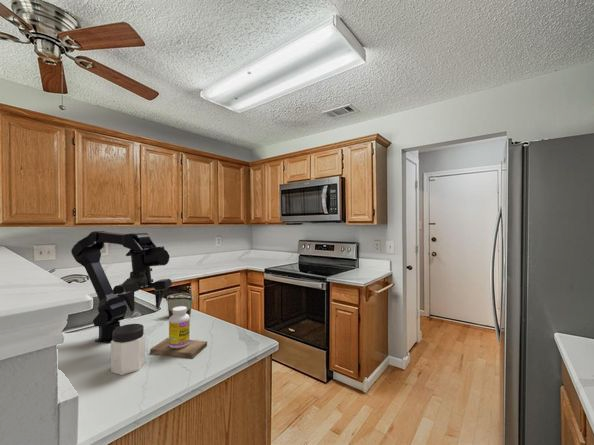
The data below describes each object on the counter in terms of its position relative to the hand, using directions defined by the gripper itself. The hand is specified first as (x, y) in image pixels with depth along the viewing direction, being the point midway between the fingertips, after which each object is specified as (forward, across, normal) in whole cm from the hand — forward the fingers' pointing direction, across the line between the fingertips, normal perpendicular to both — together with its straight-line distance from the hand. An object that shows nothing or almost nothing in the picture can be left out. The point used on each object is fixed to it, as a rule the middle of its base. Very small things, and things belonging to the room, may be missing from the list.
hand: (145, 309), depth 100 cm
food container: (+12, 0, +30) cm, 32 cm away
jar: (+13, +2, -15) cm, 20 cm away
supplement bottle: (+13, +13, -3) cm, 18 cm away
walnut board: (+14, +13, -4) cm, 19 cm away
